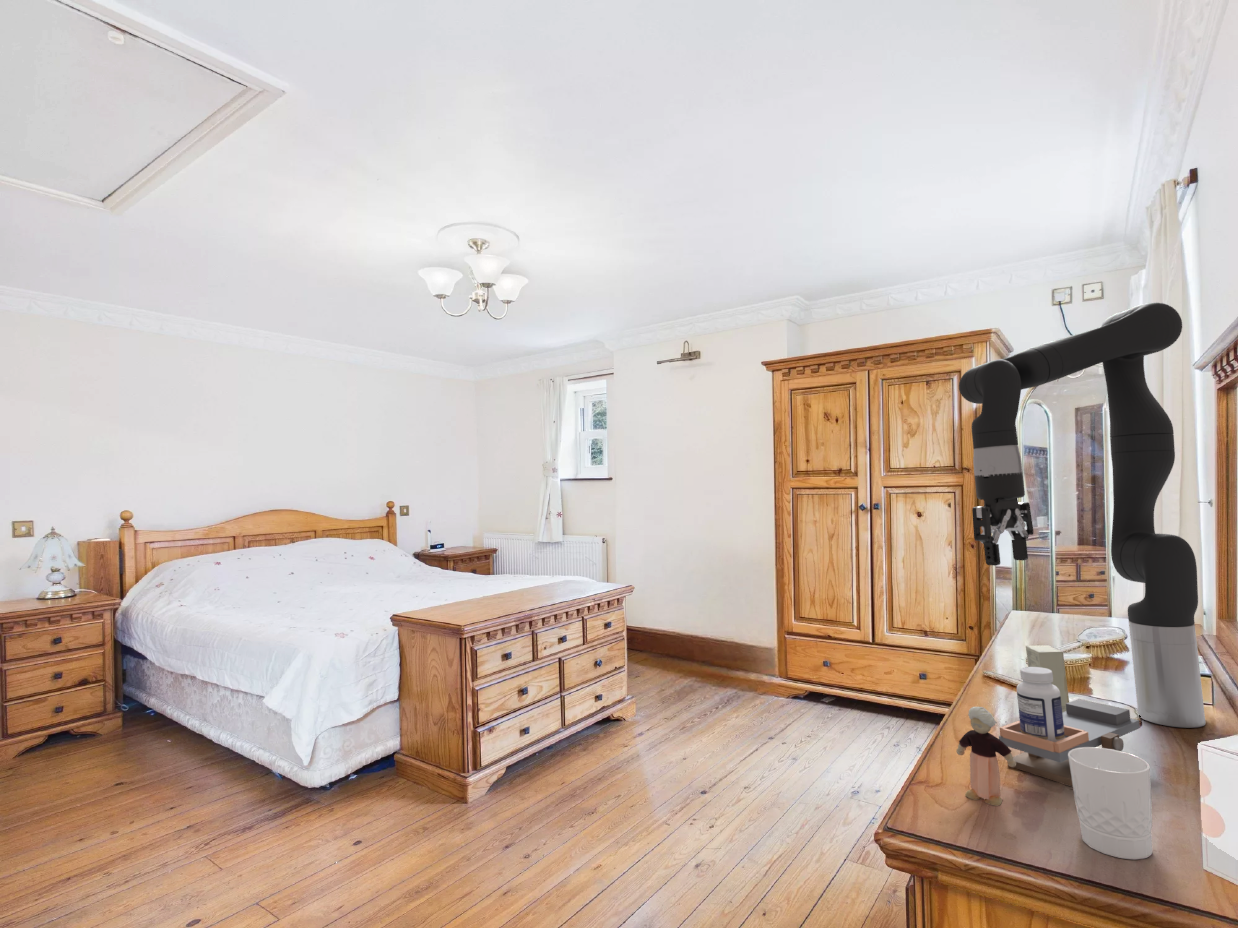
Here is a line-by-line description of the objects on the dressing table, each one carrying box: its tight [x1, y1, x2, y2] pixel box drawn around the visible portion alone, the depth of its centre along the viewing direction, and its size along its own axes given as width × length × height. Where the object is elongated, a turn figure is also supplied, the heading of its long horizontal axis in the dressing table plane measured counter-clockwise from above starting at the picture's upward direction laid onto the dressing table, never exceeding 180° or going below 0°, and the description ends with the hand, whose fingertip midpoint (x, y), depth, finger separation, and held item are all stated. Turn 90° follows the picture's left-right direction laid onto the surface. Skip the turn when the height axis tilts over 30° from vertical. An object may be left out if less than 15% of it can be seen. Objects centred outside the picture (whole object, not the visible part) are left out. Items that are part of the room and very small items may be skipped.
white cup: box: [1068, 747, 1153, 860], centre depth 78 cm, size 8×8×10 cm
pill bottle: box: [1016, 666, 1065, 742], centre depth 94 cm, size 5×5×10 cm
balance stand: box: [1007, 732, 1125, 788], centre depth 97 cm, size 10×14×7 cm
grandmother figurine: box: [956, 706, 1016, 807], centre depth 90 cm, size 8×4×13 cm, turn 50°
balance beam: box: [998, 698, 1141, 763], centre depth 97 cm, size 22×8×3 cm, turn 118°
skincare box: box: [1025, 644, 1070, 713], centre depth 123 cm, size 6×4×12 cm
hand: (1007, 562), depth 116 cm, fingers open, 8 cm apart
